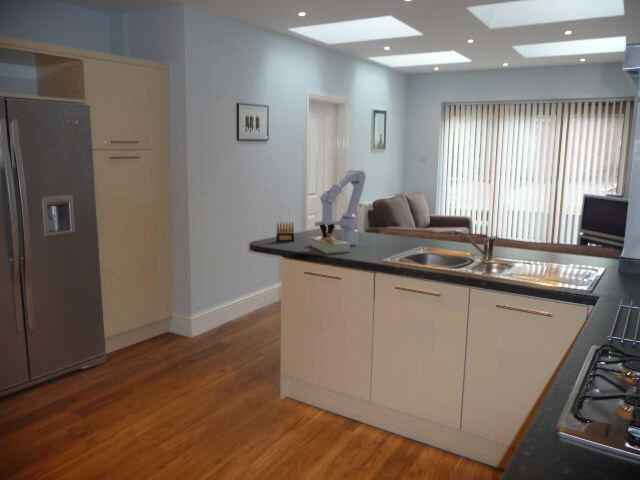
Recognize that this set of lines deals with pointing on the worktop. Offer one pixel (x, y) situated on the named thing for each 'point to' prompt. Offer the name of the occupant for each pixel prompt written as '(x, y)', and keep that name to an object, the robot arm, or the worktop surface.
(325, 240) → the block
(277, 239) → the ammunition clip
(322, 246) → the flat box
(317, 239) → the lid
